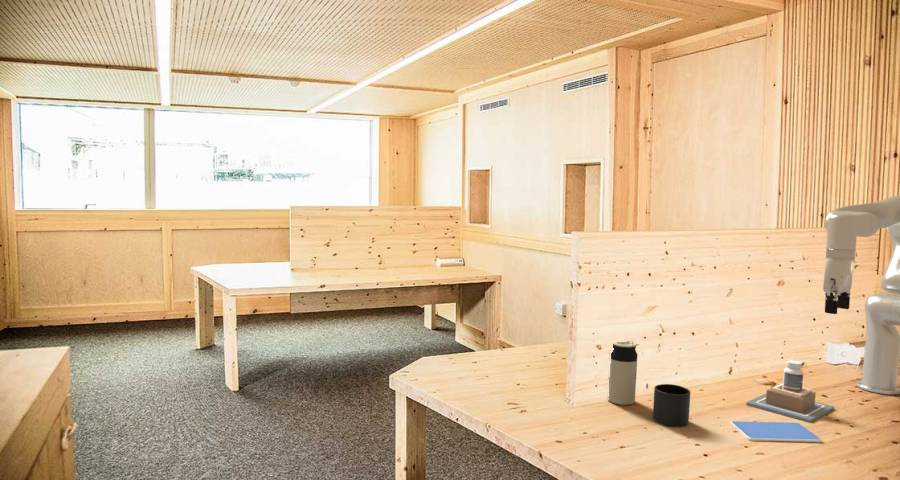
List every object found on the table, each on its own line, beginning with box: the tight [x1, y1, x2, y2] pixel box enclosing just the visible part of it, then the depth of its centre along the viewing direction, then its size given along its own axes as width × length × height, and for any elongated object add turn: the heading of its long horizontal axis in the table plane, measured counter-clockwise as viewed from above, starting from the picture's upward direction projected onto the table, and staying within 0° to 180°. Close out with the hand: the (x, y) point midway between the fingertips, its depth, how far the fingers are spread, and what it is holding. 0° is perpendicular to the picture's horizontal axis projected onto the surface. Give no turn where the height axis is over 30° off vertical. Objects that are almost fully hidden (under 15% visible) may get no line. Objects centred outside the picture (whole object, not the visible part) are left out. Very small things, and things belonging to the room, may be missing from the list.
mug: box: [652, 383, 691, 428], centre depth 183 cm, size 9×12×9 cm
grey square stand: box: [745, 382, 835, 423], centre depth 196 cm, size 18×18×6 cm
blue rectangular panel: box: [729, 420, 823, 443], centre depth 175 cm, size 19×13×1 cm, turn 90°
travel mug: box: [607, 340, 638, 406], centre depth 196 cm, size 8×8×18 cm
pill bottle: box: [782, 359, 804, 394], centre depth 195 cm, size 5×5×9 cm
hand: (837, 310), depth 198 cm, fingers open, 9 cm apart
